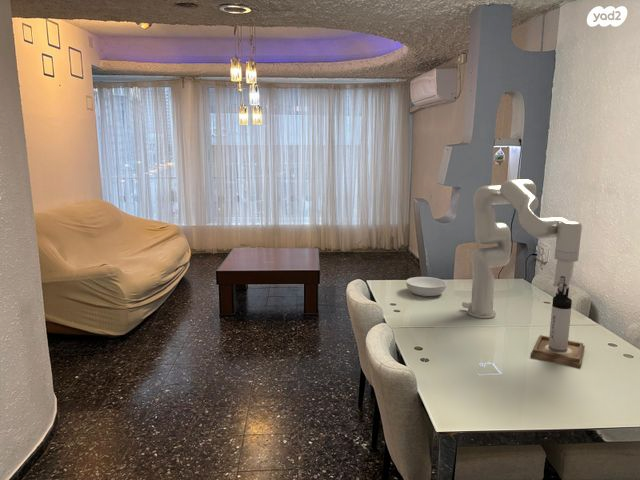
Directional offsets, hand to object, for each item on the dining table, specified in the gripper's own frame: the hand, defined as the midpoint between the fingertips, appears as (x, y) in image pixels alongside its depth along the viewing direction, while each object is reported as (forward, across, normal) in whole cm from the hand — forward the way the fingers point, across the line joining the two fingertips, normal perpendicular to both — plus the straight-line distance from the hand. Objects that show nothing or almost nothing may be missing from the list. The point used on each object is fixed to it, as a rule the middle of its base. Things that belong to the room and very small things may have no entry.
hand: (561, 300), depth 168 cm
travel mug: (+19, 0, 0) cm, 19 cm away
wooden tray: (+20, +1, +1) cm, 20 cm away
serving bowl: (+23, -43, -67) cm, 83 cm away
